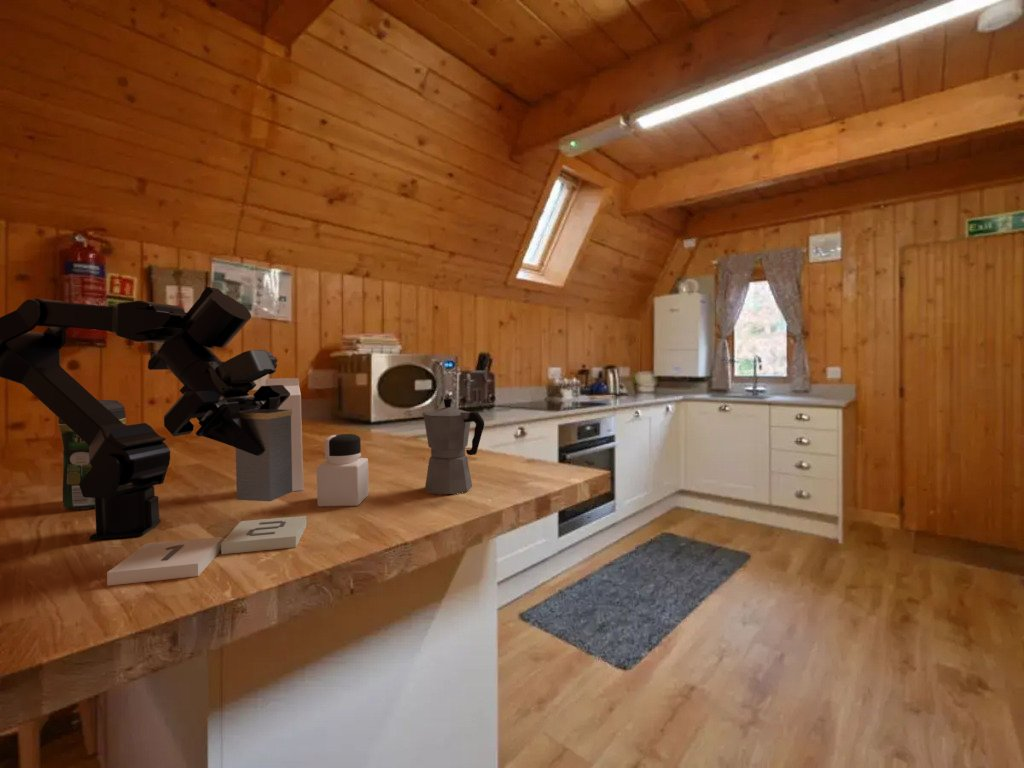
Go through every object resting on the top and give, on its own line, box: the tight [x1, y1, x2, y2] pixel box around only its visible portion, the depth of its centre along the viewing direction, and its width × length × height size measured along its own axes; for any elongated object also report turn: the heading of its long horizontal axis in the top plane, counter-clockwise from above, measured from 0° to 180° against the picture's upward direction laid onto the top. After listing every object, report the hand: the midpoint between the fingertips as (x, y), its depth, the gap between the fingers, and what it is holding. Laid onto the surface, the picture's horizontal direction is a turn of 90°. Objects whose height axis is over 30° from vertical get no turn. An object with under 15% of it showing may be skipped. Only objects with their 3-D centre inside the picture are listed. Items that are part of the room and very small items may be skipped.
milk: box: [265, 377, 304, 493], centre depth 95 cm, size 6×6×22 cm
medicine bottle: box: [316, 433, 370, 508], centre depth 86 cm, size 7×7×12 cm
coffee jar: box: [57, 399, 127, 511], centre depth 86 cm, size 10×8×19 cm
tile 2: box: [220, 515, 307, 555], centre depth 68 cm, size 9×9×2 cm
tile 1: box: [106, 536, 224, 587], centre depth 59 cm, size 9×9×2 cm
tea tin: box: [235, 409, 293, 502], centre depth 67 cm, size 5×5×12 cm
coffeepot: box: [422, 397, 485, 495], centre depth 93 cm, size 15×9×18 cm, turn 55°
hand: (273, 449), depth 67 cm, fingers closed on tea tin, 5 cm apart
